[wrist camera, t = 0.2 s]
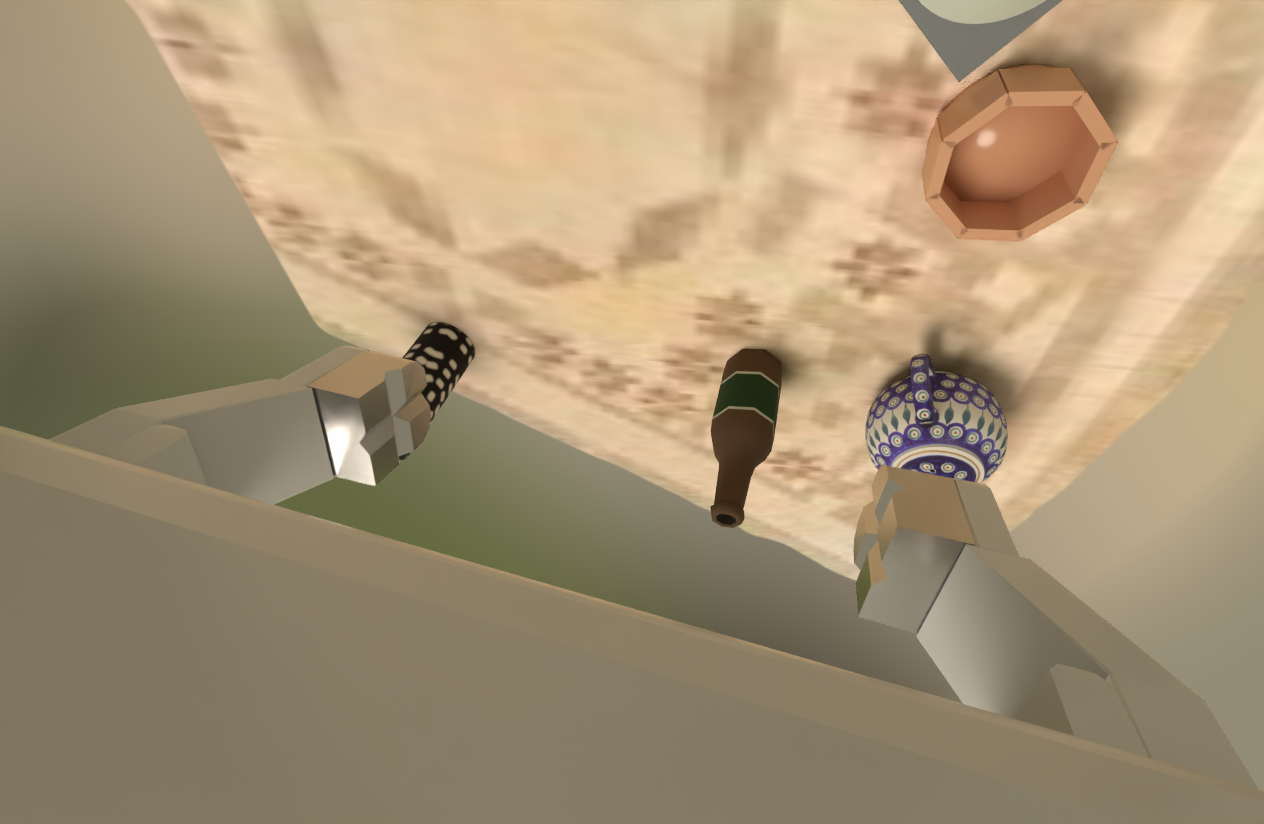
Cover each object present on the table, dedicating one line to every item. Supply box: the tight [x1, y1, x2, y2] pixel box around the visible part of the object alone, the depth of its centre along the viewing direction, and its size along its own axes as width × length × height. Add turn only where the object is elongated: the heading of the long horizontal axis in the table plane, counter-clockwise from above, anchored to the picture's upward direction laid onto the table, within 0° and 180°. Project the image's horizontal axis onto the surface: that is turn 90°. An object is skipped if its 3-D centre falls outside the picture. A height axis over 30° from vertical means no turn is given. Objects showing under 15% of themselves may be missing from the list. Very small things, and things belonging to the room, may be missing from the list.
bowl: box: [922, 64, 1118, 241], centre depth 48 cm, size 12×12×6 cm
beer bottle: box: [711, 349, 781, 528], centre depth 69 cm, size 8×8×24 cm
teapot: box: [866, 354, 1008, 483], centre depth 68 cm, size 25×15×15 cm, turn 24°
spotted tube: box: [399, 322, 475, 460], centre depth 83 cm, size 8×8×20 cm
